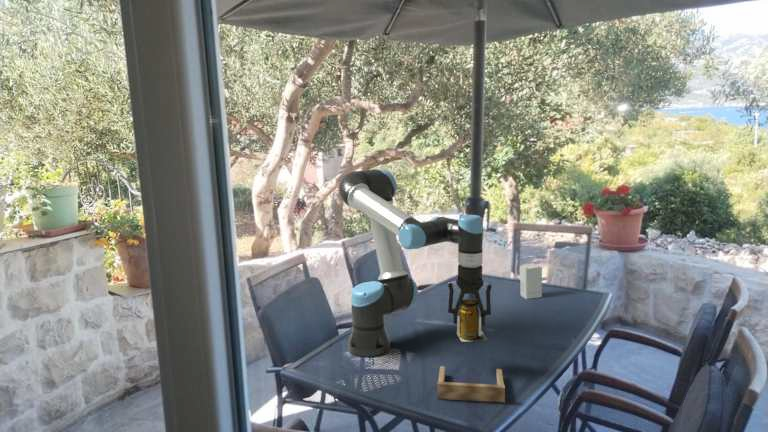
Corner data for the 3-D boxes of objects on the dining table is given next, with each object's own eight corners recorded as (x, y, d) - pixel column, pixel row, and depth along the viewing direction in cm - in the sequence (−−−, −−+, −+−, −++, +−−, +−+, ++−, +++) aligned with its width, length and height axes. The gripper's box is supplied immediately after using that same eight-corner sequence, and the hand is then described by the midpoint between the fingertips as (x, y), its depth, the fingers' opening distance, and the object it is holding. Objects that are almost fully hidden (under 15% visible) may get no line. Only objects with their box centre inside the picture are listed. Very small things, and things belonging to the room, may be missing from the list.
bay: (437, 398, 143) (437, 384, 143) (440, 375, 158) (440, 361, 157) (504, 402, 140) (504, 387, 140) (501, 378, 154) (501, 364, 154)
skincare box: (535, 293, 234) (536, 263, 232) (542, 297, 228) (543, 266, 226) (519, 295, 232) (519, 264, 230) (525, 299, 226) (526, 268, 224)
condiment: (456, 332, 163) (456, 297, 160) (481, 331, 163) (482, 296, 161) (461, 342, 155) (461, 305, 153) (487, 341, 156) (488, 304, 154)
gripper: (439, 266, 153) (438, 337, 157) (502, 268, 150) (499, 340, 154) (440, 260, 160) (439, 327, 165) (500, 262, 157) (498, 330, 161)
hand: (468, 333), depth 159 cm, fingers closed on condiment, 6 cm apart
